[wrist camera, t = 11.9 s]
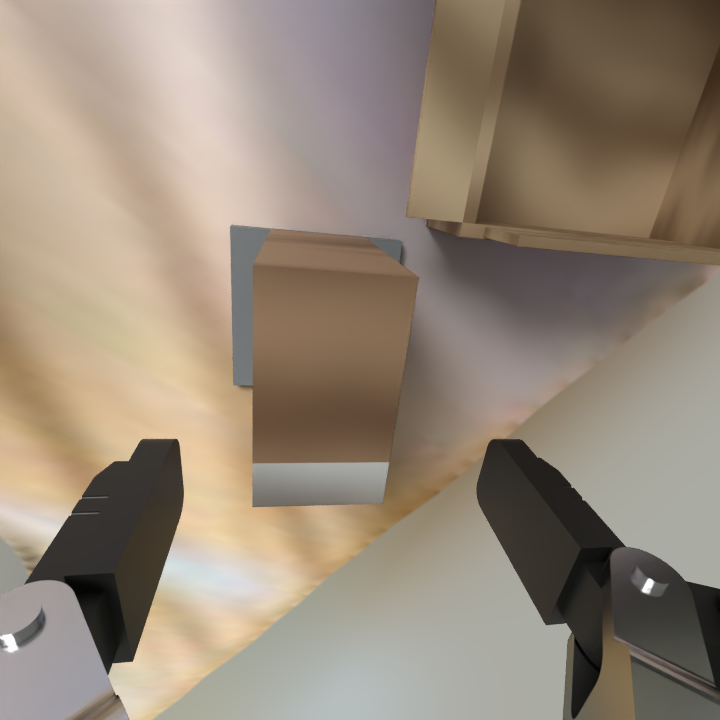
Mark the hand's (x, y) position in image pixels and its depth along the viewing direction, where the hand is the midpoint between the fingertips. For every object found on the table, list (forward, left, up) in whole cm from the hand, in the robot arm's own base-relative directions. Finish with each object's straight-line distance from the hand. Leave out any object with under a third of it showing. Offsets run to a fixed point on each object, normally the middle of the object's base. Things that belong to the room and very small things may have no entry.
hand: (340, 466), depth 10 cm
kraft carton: (-12, +13, -14) cm, 23 cm away
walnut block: (0, 0, -14) cm, 14 cm away
